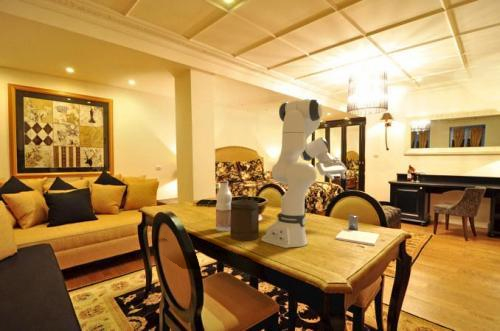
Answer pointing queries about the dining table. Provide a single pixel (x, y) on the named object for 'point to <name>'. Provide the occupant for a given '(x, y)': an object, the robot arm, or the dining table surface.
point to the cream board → (358, 237)
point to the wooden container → (244, 219)
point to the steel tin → (353, 222)
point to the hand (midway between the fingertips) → (338, 178)
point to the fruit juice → (223, 207)
